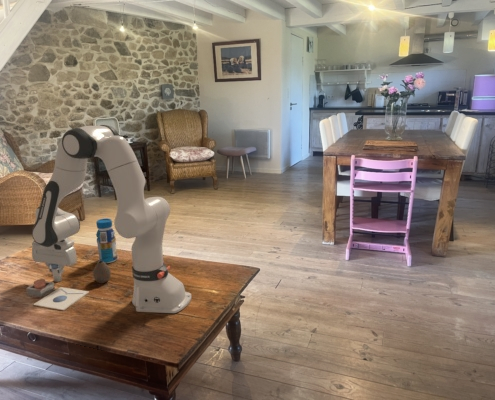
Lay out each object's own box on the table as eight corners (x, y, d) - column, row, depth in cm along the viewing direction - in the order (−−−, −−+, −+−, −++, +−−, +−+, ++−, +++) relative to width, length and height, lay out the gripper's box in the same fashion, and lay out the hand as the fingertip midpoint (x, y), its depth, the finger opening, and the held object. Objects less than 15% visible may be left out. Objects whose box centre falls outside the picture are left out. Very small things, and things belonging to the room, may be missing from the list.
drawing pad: (89, 292, 155) (89, 291, 155) (63, 310, 142) (63, 309, 142) (60, 287, 159) (60, 286, 159) (33, 305, 146) (33, 304, 146)
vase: (105, 285, 161) (103, 266, 158) (90, 284, 162) (88, 264, 160) (114, 277, 167) (112, 259, 165) (100, 276, 169) (97, 258, 166)
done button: (49, 287, 157) (47, 279, 156) (40, 292, 153) (39, 284, 152) (40, 286, 158) (39, 278, 157) (32, 290, 154) (31, 283, 153)
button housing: (54, 289, 158) (53, 282, 157) (41, 297, 152) (40, 290, 151) (41, 286, 160) (39, 280, 159) (27, 295, 154) (26, 288, 153)
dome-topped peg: (63, 279, 166) (61, 262, 164) (58, 282, 164) (55, 265, 161) (57, 278, 167) (54, 261, 165) (52, 281, 164) (49, 264, 162)
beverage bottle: (95, 261, 184) (90, 221, 179) (110, 255, 191) (106, 216, 186) (106, 265, 180) (101, 224, 174) (121, 259, 186) (117, 219, 181)
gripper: (25, 242, 161) (31, 272, 165) (66, 247, 155) (70, 278, 159) (37, 237, 167) (42, 266, 170) (77, 241, 161) (81, 271, 164)
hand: (56, 272), depth 164 cm, fingers closed on dome-topped peg, 3 cm apart
